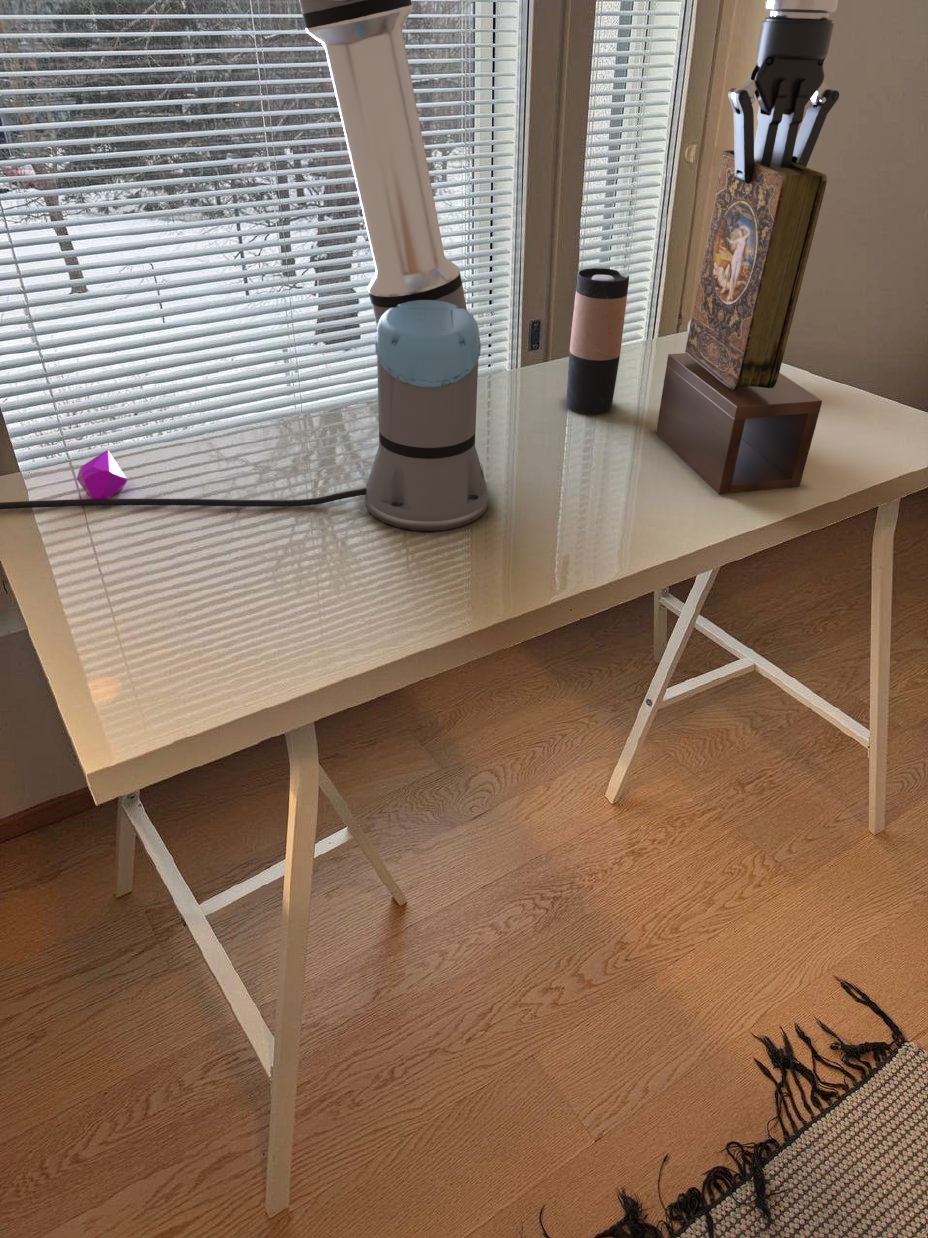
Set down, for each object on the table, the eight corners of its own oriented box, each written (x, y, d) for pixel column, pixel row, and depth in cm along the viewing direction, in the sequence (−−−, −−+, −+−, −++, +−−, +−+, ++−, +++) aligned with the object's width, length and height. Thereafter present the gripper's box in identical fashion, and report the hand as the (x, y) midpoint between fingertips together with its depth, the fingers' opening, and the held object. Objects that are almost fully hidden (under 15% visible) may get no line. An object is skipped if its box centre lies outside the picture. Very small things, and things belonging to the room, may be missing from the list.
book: (680, 349, 128) (718, 149, 114) (717, 348, 129) (758, 150, 115) (734, 393, 115) (784, 174, 101) (774, 391, 116) (829, 175, 102)
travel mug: (559, 411, 142) (572, 277, 131) (569, 394, 148) (582, 265, 137) (608, 418, 141) (625, 283, 129) (616, 401, 147) (633, 270, 135)
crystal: (77, 491, 116) (69, 457, 113) (119, 480, 118) (113, 447, 116) (92, 507, 112) (84, 473, 110) (135, 496, 115) (129, 462, 113)
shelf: (718, 494, 120) (736, 406, 114) (655, 433, 136) (668, 353, 129) (800, 486, 123) (822, 400, 116) (728, 428, 139) (744, 349, 132)
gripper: (761, 15, 95) (720, 254, 109) (873, 17, 98) (819, 250, 111) (727, 13, 101) (692, 240, 115) (833, 15, 104) (786, 236, 117)
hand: (755, 245), depth 113 cm, fingers closed
